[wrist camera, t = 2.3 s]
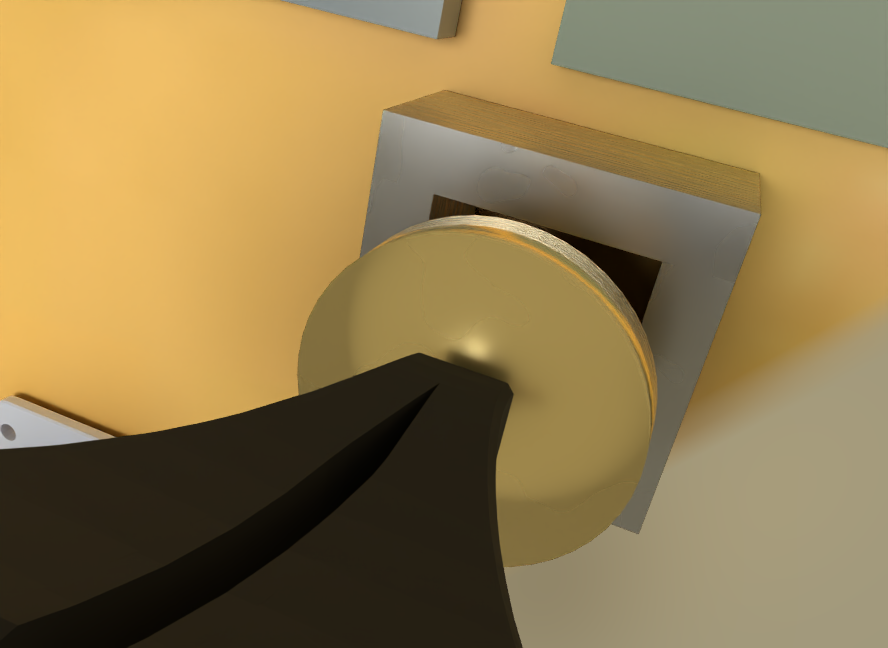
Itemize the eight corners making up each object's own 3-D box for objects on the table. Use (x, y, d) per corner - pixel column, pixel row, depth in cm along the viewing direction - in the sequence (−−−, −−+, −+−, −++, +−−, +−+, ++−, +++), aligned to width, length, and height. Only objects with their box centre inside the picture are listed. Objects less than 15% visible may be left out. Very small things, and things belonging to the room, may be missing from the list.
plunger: (626, 472, 15) (589, 616, 12) (382, 384, 16) (280, 492, 13) (717, 220, 13) (704, 305, 9) (427, 138, 14) (320, 187, 11)
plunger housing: (656, 450, 17) (638, 534, 14) (394, 358, 18) (333, 419, 16) (759, 173, 14) (761, 214, 12) (445, 90, 16) (382, 109, 13)
